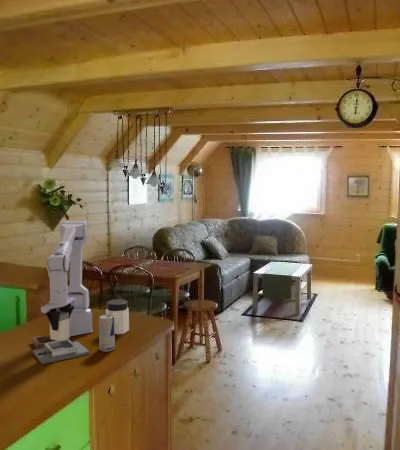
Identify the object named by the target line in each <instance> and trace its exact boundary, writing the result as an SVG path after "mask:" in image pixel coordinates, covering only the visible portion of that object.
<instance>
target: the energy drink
mask: <svg viewBox="0 0 400 450" xmlns="http://www.w3.org/2000/svg"><path fill="white" fill-rule="evenodd" d="M115 341H116V340H115V335H114V317H113V315H110V314H106V313H105V314H101V315H99V317H98V342H99V347H98V348H99V350H100V351H101V352H104V353H105V352H106V353H107V352H112V351H114V350H115V348H116V346H115V343H116V342H115Z"/></svg>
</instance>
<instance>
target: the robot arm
mask: <svg viewBox="0 0 400 450" xmlns="http://www.w3.org/2000/svg"><path fill="white" fill-rule="evenodd" d="M59 235H60V236H61V240H60V241H58V242H57V243H56V246H55V247H54V250H53V252H52V253H51V255H50V256H48V257H47V259H46V271H47V276H48V278H49V294H50V296H49V297H50V298H49V299H50V300H49V301H48V303H46V304H44V305H42V306H40V313H43V314H45V316H46V317H47V319H48V321H49V325H50V324H51V327H52V330H55V331H57V330H58V322H59V316H60V311H63V312H68V313H69V337H73V336H74V337H75V336H80V335H84V334H89V333H93V332H94V331H93V313H92V311H91V309H90V308H89V307H90V295H89V293H90V292H89V289H88V288H86V287H85V286H84V285H83V283H82V282H83V249H84V248H83V247H84V245H85V243H87V242H88V241H89V224H88V222H87V221H86V220H83V221H82V220H81V221H80V220H78V221H76V220H73V221H71V220H70V221H69V220H62V221H61V222H60V226H59ZM68 271H69V285H68ZM57 309H58V310H57Z"/></svg>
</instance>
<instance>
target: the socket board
mask: <svg viewBox="0 0 400 450" xmlns="http://www.w3.org/2000/svg"><path fill="white" fill-rule="evenodd" d="M43 343H44V342H43ZM32 354H33V355H34V357H35V358H36V359H37V360H38V361H39V362H40V364H41V365H45V364H49V363H55V362H60V361H63V360H68V359H73V358H79V357H82V356H87V355H90V351H89V350H88V349H87V348H86V347H84V346H83V344H81V343H80V342H79V341H71V340H70V338H68V339H65V340H63V341H55V342H50V343H44V348H41V349H37V348H35V349H32Z"/></svg>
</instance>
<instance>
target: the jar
mask: <svg viewBox="0 0 400 450" xmlns="http://www.w3.org/2000/svg"><path fill="white" fill-rule="evenodd" d="M128 303H129V302H128V300H127V299H120V298H119V299H111V300H108V301H107V302H106V309H105V315H106V314H110V315H113V317H114V336H115V334H117V335H124V334H126V333H127V332H129V331H130V314H129V313H130V309H129V307H128Z"/></svg>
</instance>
